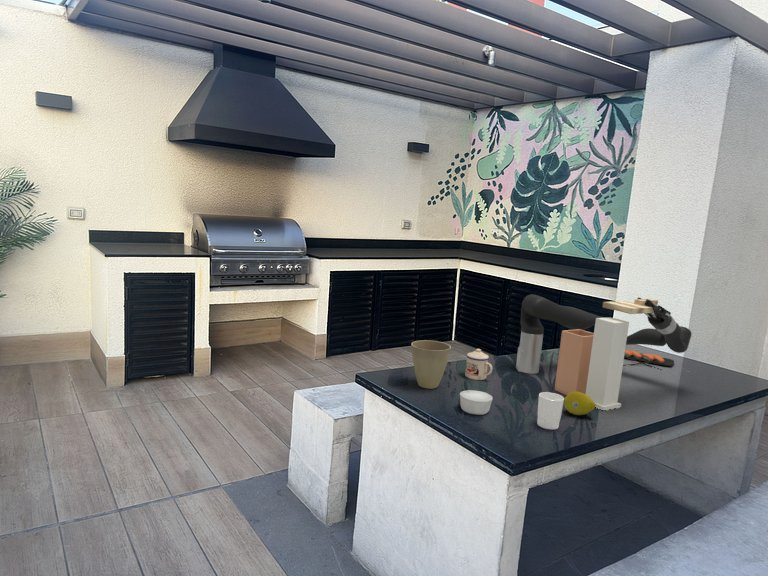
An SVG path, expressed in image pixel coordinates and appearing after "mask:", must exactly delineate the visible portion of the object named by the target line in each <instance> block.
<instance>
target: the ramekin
mask: <svg viewBox="0 0 768 576" xmlns="http://www.w3.org/2000/svg"><path fill="white" fill-rule="evenodd" d="M459 398H460V399H459V400H460V401H459V402H460V407H461V409H462V410H463V411H464V412H465V413H467V414H472V415H486V414H487V413H488V412H490V408H491V405H492V402H493V398H494V397H493V396H492V395H491V394H489V393H488V392H485V391H480V390H472V389H469V390H463V391H460V392H459Z"/></svg>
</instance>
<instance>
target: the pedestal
mask: <svg viewBox="0 0 768 576" xmlns="http://www.w3.org/2000/svg"><path fill="white" fill-rule="evenodd" d="M629 327H630V321H626V320H623V319H619V318H615V317H610V316H609V317H605V318H596V322H595V325H594V331H593V333H594V336H593V344H592V351H591V358H590V365H589V372H588V380H587V387H586V395H587V396H589V397H590V398H591V399H592V400H593V402H595V404H596V406H595V407H596V408H595V409H597V408H598V409H597V410H599V409H601V410H606V411H610V410H609V409H611V410H615V409H614V408H616V409H620V407H621V408H622V403H620V402H618V400H619V393H620V388H621V387H620V386H621V379H622V372H623V367H624V366H623V365H624V361H625V360H624V359H625V358H624V354H625V350H626V347H627V346H626V341H627V336H628V332H629ZM601 410H600V411H601Z"/></svg>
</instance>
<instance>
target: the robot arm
mask: <svg viewBox="0 0 768 576" xmlns="http://www.w3.org/2000/svg"><path fill="white" fill-rule="evenodd" d="M637 299H642V298H641V297H637ZM646 299H647V300H646V302H645V305H646V306H648V307H653V308H652V313H643V314H644V315H645V316H647V321H648V323H649V324H650V325H651V326H652V327H653V328H650V327H649V328H643V329H639V330H638V331H635V332H634V333H632V334H630V335H627V341H626V345H627V346H631V345H643V346H644V345H647V346H656V347H664V346H665V345H666V346H667V347H668V348H669V349H670V350H671V351H672V352H674V353H676V354H677V353H678V354H679V353H680V354H682V353H684V352H686V351H687V350H688V348H689V344H690V341H691V338H692V332H691V329H690V328H688V327H686V326H683V325H681V326H680V325H679V324H678V323H677V322H676V320H675V319H674V317H673V316H672V315H671V314H672V313H671V311H670V310H667V309H666V308H664V307H663V306H662V305H660V304H657V306H656V304H653V303H652V302H651V301H650V300H649V299H650V298H646ZM596 318H606V317H605V316H604V317H603V316H599V315H597V314H594V313H590V312H587V311H586V310H583V309H579V308H576V307H572V306H567V305H560V304H558V303H555V302H553V301H551V300H550V299H547V298H546V297H543V296H541V295H537V294H533V293H531V294H528V295H526V296H525V297H524V298H523V300H522V303H521V308H520V327H521V329H520V332H521V333H520V341H519V346H518V347H517V354H516V365H515V368H516V370H517V372H520V373H523V374H530V375H534V374H538V373H539V370H540V364H541V355H542V347H543V338H544V330H545V329H544V328H545V327H544V326H543V325H542V323H541V322H540V321H541V320H546V321H552V322H555V323H558V324H559V325H561V326H562V327H565V328H568V329H570V330H576V329H581V330H584V331H586V330H588V329H589V328H591V327H593V326H594V327H595V322H596Z"/></svg>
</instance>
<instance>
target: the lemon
mask: <svg viewBox="0 0 768 576" xmlns="http://www.w3.org/2000/svg"><path fill="white" fill-rule="evenodd" d="M563 405H564V408H565V410H566V411H567V412H568V413H570V414H571V415H574V416H584V415H587V414H589V413H590V412H592V411H594V410H595V409H596V408H595V406H596V404H595V402H593V400H592V399H591V398H590V397H589V396H587V395H586V394H584V393H581V392H575V391H574V392H570V393H569V394H568V395H565V397H564V403H563Z"/></svg>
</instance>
